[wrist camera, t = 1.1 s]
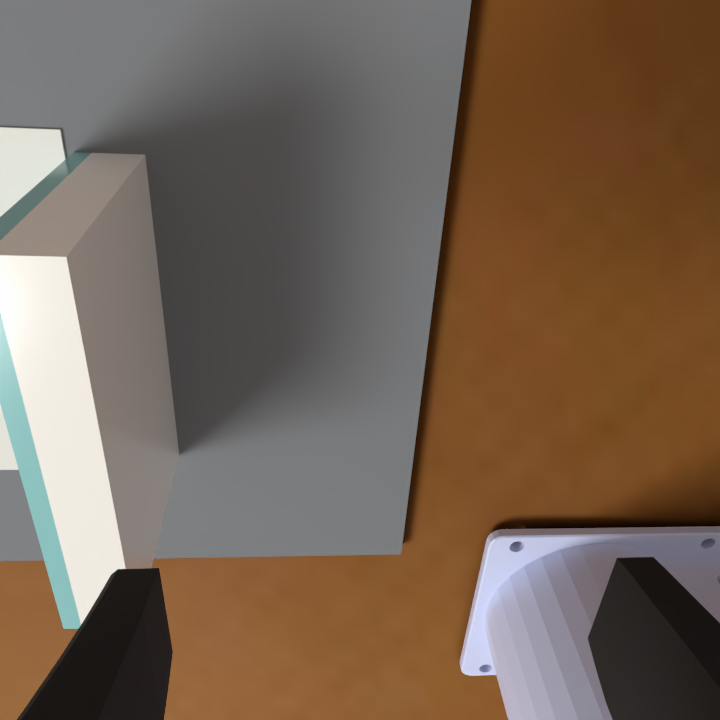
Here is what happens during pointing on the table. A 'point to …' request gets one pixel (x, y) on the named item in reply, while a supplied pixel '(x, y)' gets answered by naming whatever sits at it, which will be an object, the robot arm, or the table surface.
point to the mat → (261, 241)
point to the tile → (87, 372)
